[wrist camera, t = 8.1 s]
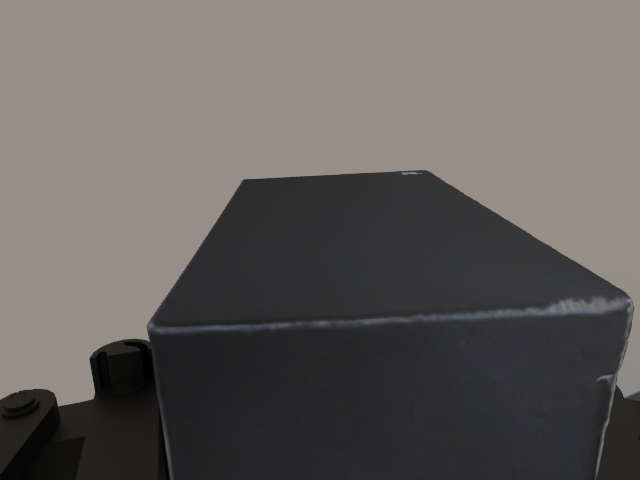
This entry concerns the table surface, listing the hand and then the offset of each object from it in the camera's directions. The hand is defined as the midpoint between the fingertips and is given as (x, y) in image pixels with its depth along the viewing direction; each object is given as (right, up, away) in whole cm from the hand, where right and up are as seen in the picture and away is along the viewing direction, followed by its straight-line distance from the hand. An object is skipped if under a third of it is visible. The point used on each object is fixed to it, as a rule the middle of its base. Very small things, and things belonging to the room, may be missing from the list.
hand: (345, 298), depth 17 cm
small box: (0, -7, -3) cm, 8 cm away
